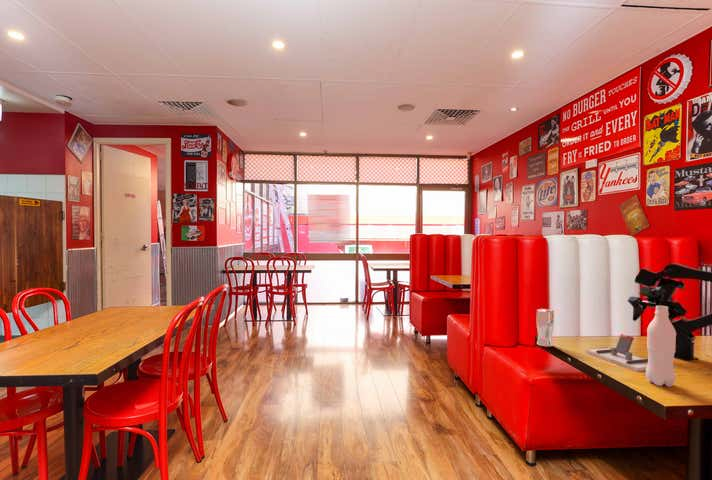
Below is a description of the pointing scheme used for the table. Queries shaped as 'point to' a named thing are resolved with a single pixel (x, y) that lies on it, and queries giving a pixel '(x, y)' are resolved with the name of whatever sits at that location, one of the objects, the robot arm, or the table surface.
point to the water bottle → (661, 349)
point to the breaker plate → (620, 358)
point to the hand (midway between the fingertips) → (645, 322)
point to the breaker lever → (624, 344)
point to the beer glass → (545, 327)
